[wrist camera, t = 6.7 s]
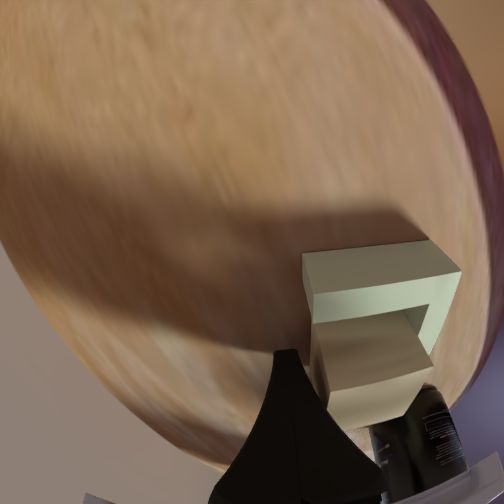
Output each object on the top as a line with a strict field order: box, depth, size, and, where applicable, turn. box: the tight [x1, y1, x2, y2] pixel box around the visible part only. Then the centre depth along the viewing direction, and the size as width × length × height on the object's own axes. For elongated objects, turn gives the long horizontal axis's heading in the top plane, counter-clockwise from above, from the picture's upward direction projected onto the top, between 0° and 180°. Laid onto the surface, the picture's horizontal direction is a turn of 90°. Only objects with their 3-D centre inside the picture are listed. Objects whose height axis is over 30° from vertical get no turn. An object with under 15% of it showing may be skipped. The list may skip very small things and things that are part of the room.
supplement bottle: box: [369, 389, 469, 504], centre depth 12 cm, size 7×7×12 cm
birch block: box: [309, 310, 434, 431], centre depth 10 cm, size 4×4×4 cm
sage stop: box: [302, 240, 462, 356], centre depth 11 cm, size 10×6×2 cm, turn 7°
